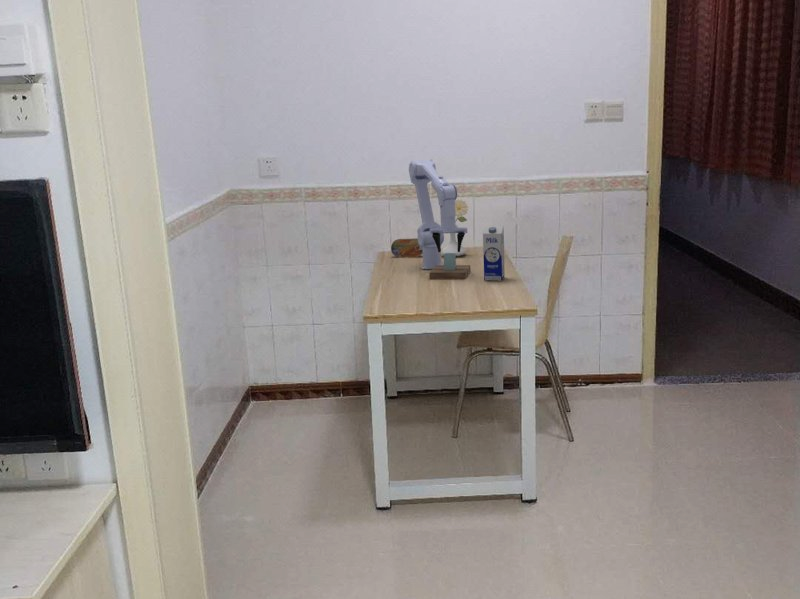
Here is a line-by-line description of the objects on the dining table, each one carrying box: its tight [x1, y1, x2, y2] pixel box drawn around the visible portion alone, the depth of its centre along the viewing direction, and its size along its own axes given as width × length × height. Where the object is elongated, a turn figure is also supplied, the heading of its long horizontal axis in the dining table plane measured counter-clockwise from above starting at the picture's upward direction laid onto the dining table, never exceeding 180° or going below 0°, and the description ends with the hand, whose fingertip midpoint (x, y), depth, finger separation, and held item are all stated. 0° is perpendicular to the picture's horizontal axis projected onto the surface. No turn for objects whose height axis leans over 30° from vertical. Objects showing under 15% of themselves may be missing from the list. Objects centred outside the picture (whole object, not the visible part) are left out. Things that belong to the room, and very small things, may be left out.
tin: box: [390, 237, 423, 259], centre depth 353 cm, size 15×3×8 cm, turn 77°
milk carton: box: [482, 225, 506, 281], centre depth 298 cm, size 7×7×20 cm
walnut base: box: [428, 264, 471, 280], centre depth 311 cm, size 14×14×2 cm
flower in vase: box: [441, 198, 469, 257], centre depth 347 cm, size 13×11×25 cm
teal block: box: [443, 253, 457, 270], centre depth 310 cm, size 4×4×6 cm
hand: (449, 251), depth 309 cm, fingers open, 7 cm apart
